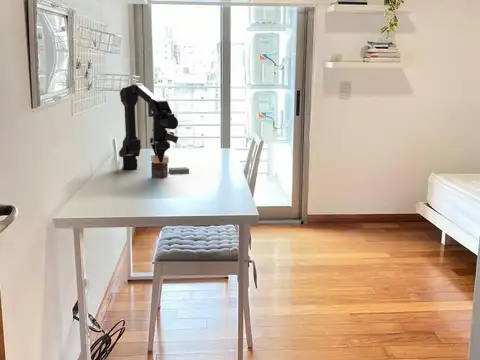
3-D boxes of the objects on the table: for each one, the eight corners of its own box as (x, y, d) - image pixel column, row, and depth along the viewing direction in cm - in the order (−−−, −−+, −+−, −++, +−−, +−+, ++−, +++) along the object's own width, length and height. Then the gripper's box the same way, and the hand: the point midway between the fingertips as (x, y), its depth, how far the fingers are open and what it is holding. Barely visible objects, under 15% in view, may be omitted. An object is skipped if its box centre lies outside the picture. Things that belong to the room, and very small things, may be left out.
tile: (153, 163, 245) (153, 157, 244) (150, 160, 251) (150, 155, 251) (168, 162, 247) (168, 157, 247) (165, 160, 254) (165, 154, 253)
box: (163, 178, 247) (163, 163, 246) (151, 178, 248) (151, 162, 247) (167, 176, 253) (167, 160, 252) (155, 175, 254) (155, 160, 253)
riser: (170, 173, 259) (170, 169, 258) (168, 171, 263) (168, 167, 263) (189, 173, 262) (189, 169, 261) (186, 171, 266) (186, 167, 266)
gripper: (181, 129, 240) (180, 164, 243) (172, 124, 257) (172, 157, 260) (156, 129, 236) (156, 164, 240) (149, 125, 254) (149, 157, 257)
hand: (159, 160), depth 249 cm, fingers open, 7 cm apart
